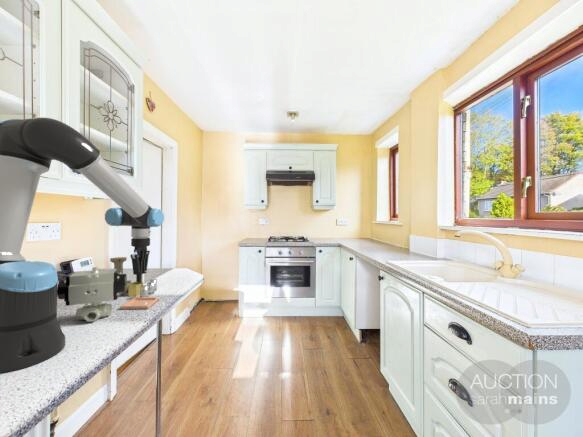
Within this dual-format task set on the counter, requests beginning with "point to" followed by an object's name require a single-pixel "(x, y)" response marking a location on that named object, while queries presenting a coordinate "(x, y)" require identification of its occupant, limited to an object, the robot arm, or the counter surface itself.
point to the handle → (118, 262)
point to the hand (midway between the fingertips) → (140, 287)
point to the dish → (140, 303)
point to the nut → (134, 288)
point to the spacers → (144, 288)
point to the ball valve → (92, 291)
